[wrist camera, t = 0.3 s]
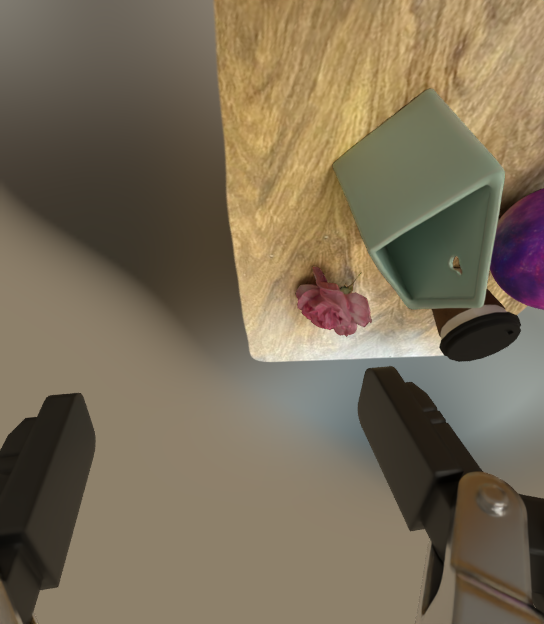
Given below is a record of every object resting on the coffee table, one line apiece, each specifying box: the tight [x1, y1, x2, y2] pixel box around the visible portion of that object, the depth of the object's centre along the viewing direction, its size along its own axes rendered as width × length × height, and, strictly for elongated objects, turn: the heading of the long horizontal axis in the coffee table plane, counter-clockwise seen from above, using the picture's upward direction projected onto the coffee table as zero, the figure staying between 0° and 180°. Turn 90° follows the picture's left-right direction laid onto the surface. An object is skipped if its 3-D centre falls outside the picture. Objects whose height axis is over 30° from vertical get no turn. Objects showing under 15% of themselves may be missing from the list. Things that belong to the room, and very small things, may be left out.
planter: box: [333, 89, 505, 309], centre depth 35 cm, size 16×8×20 cm, turn 173°
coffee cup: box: [432, 268, 521, 362], centre depth 56 cm, size 11×11×12 cm
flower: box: [296, 266, 372, 337], centre depth 54 cm, size 11×10×10 cm
